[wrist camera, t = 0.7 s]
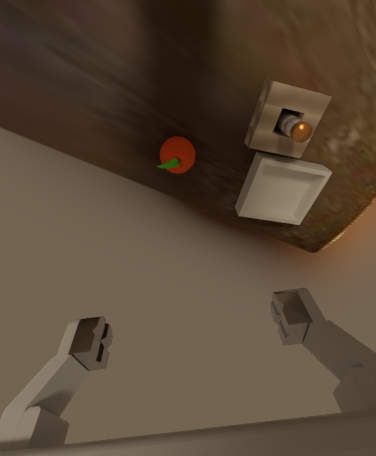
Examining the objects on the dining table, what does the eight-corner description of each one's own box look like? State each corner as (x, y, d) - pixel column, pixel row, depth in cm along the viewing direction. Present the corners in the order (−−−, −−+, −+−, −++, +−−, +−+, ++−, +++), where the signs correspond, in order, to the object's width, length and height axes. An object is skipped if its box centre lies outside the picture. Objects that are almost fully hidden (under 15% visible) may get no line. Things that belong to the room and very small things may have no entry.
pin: (276, 108, 44) (299, 121, 36) (290, 111, 44) (316, 125, 36) (269, 124, 45) (290, 140, 37) (283, 128, 46) (306, 144, 38)
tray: (256, 151, 49) (262, 158, 45) (322, 164, 51) (332, 172, 48) (234, 206, 57) (238, 215, 54) (292, 215, 60) (299, 224, 56)
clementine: (164, 171, 50) (163, 187, 44) (149, 141, 46) (146, 154, 40) (198, 158, 49) (202, 172, 43) (186, 126, 45) (189, 137, 39)
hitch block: (265, 78, 40) (273, 81, 37) (320, 93, 42) (332, 96, 39) (243, 141, 47) (248, 147, 44) (291, 151, 49) (299, 158, 46)
